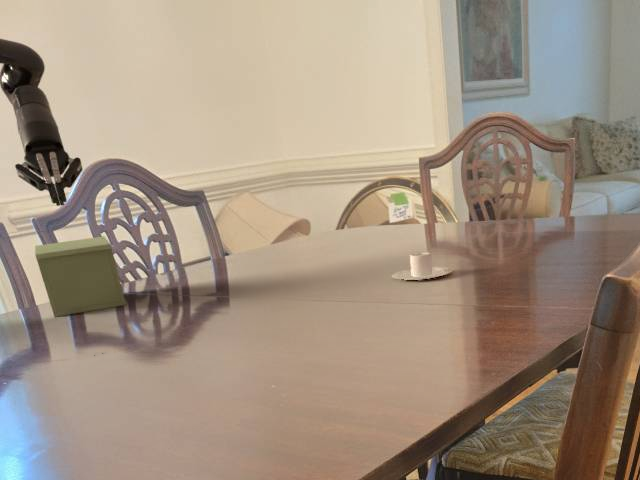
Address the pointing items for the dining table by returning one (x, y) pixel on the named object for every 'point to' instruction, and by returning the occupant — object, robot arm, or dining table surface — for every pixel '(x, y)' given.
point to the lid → (71, 247)
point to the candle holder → (421, 267)
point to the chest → (81, 282)
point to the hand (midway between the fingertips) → (59, 202)
